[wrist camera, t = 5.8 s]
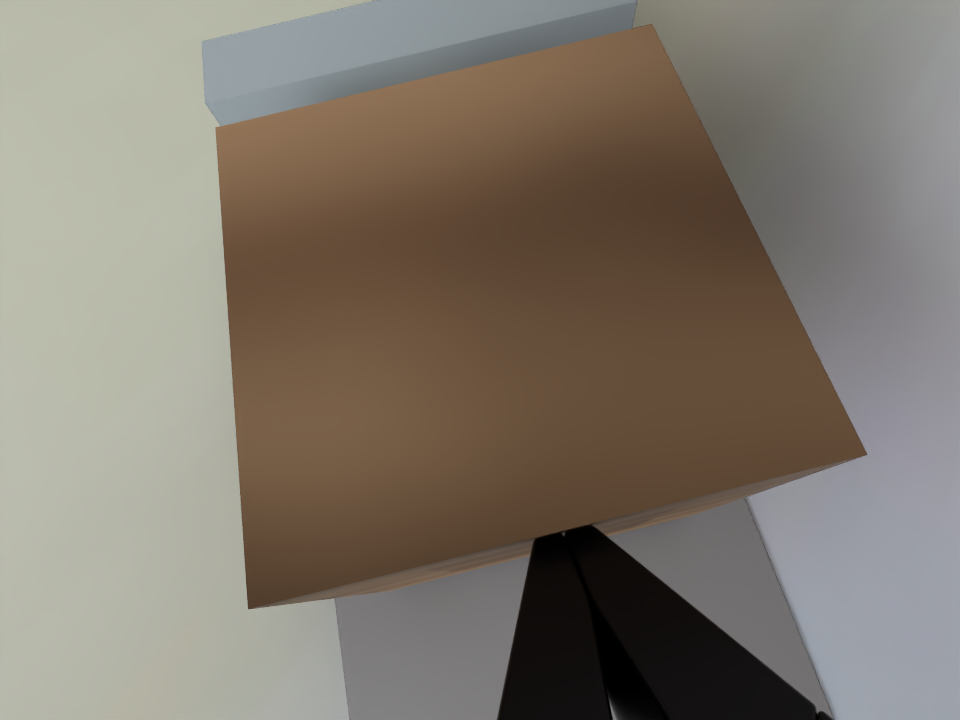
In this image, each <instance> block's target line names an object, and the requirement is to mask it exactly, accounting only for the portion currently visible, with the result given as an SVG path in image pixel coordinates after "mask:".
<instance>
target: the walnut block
mask: <svg viewBox="0 0 960 720" xmlns="http://www.w3.org/2000/svg"><path fill="white" fill-rule="evenodd" d="M216 141H217V156H218V171H219V186H220V200H221V215H222V230H223V245H224V260H225V274H226V289H227V304H228V319H229V334H230V348H231V363H232V378H233V393H234V408H235V422H236V437H237V452H238V467H239V482H240V496H241V511H242V526H243V541H244V555H245V570H246V585H247V600H248V609H254V608H261V607H269V606H277V605H285V604H292V603H300V602H308V601H316V600H323V599H331V598H339V597H347V596H354V595H362V594H370V593H378V592H385V591H391V590H395V589H399V588H403V587H407V586H411V585H415V584H419V583H423V582H427V581H431V580H435V579H439V578H443V577H447V576H451V575H455V574H459V573H463V572H467V571H471V570H475V569H479V568H483V567H487V566H491V565H495V564H499V563H503V562H507V561H511V560H515V559H519V558H523V557H527V556H530V554H531V549H532V544H533V542H534V540H535V539H538V538H542V537H546V536H550V535H554V534H558V533H561V534H563V535H565V532H567V531H570V530H574V529H578V528H582V527H586V526H590V525H592V526H595V527H596V528H597V529H599V530H600V531H601V532H602V533H604V534H605V535H606V536H611V535H615V534H619V533H623V532H627V531H631V530H635V529H639V528H643V527H647V526H651V525H655V524H659V523H663V522H667V521H671V520H675V519H679V518H683V517H687V516H691V515H695V514H698V513H701V512H704V511H706V510H709V509H712V508H715V507H718V506H721V505H724V504H727V503H730V502H732V501H735V500H738V499H741V498H744V497H747V496H750V495H753V494H755V493H758V492H761V491H764V490H767V489H770V488H773V487H776V486H779V485H781V484H784V483H787V482H790V481H793V480H796V479H799V478H802V477H804V476H807V475H810V474H813V473H816V472H819V471H822V470H825V469H828V468H830V467H833V466H836V465H839V464H842V463H845V462H848V461H851V460H853V459H856V458H859V457H862V456H865V455H867V453H866V451H865V449H864V447H863V445H862V443H861V441H860V439H859V437H858V435H857V433H856V431H855V429H854V427H853V425H852V423H851V421H850V419H849V417H848V415H847V413H846V411H845V409H844V407H843V405H842V403H841V401H840V399H839V397H838V395H837V393H836V391H835V389H834V387H833V385H832V383H831V381H830V379H829V377H828V375H827V373H826V371H825V369H824V367H823V365H822V363H821V361H820V359H819V357H818V355H817V353H816V351H815V349H814V347H813V345H812V343H811V341H810V339H809V337H808V335H807V333H806V331H805V329H804V327H803V325H802V323H801V321H800V319H799V317H798V315H797V313H796V311H795V309H794V307H793V305H792V303H791V301H790V299H789V297H788V295H787V293H786V291H785V289H784V287H783V285H782V283H781V281H780V279H779V277H778V275H777V273H776V271H775V269H774V267H773V265H772V263H771V261H770V259H769V257H768V255H767V253H766V251H765V249H764V247H763V245H762V243H761V241H760V239H759V237H758V235H757V233H756V231H755V229H754V227H753V225H752V223H751V221H750V219H749V217H748V215H747V213H746V211H745V209H744V207H743V205H742V203H741V201H740V199H739V197H738V195H737V193H736V191H735V189H734V187H733V185H732V183H731V181H730V179H729V177H728V175H727V173H726V171H725V169H724V167H723V165H722V163H721V161H720V159H719V157H718V155H717V153H716V151H715V149H714V147H713V145H712V143H711V141H710V139H709V137H708V135H707V133H706V131H705V129H704V127H703V125H702V123H701V121H700V119H699V117H698V115H697V113H696V111H695V109H694V107H693V105H692V103H691V101H690V99H689V97H688V95H687V93H686V91H685V89H684V87H683V85H682V83H681V81H680V79H679V77H678V75H677V73H676V71H675V69H674V67H673V65H672V63H671V61H670V59H669V57H668V55H667V53H666V51H665V49H664V47H663V45H662V43H661V41H660V39H659V37H658V35H657V33H656V31H655V29H654V27H653V25H652V24H649V25H645V26H641V27H637V28H632V29H628V30H624V31H620V32H616V33H611V34H607V35H603V36H599V37H595V38H590V39H586V40H582V41H578V42H573V43H569V44H565V45H561V46H557V47H552V48H548V49H544V50H540V51H536V52H531V53H527V54H523V55H519V56H515V57H510V58H506V59H502V60H498V61H493V62H489V63H485V64H481V65H477V66H472V67H468V68H464V69H460V70H456V71H451V72H447V73H443V74H439V75H435V76H430V77H426V78H422V79H418V80H413V81H409V82H405V83H401V84H397V85H392V86H388V87H384V88H380V89H376V90H371V91H367V92H363V93H359V94H355V95H350V96H346V97H342V98H338V99H334V100H329V101H325V102H321V103H317V104H312V105H308V106H304V107H300V108H296V109H291V110H287V111H283V112H279V113H275V114H270V115H266V116H262V117H258V118H254V119H249V120H245V121H241V122H237V123H232V124H228V125H224V126H220V127H216Z"/></svg>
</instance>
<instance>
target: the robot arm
mask: <svg viewBox="0 0 960 720" xmlns="http://www.w3.org/2000/svg"><path fill="white" fill-rule="evenodd" d="M610 704H611V706H612V709H613V711H614V714H615V716H616V719H617V720H834V719H833V718H832V717H830V716H829V715H828V714H827V713H825V712H824V711H819V712H818V713H817V708H816V706H815V704H814V703H813V702H811V701H810V700H809V699H808V698H806V697H805V696H804V695H803V694H801V693H800V692H799V691H798V690H796V689H795V688H794V687H793V686H792V685H790V684H789V683H788V682H787V681H785V680H784V679H783V678H782V677H780V676H779V675H778V674H777V673H775V672H774V671H773V670H772V669H770V668H769V667H768V666H767V665H766V664H764V663H763V662H762V661H761V660H759V659H758V658H757V657H756V656H754V655H753V654H752V653H751V652H749V651H748V650H747V649H746V648H745V647H743V646H742V645H741V644H740V643H738V642H737V641H736V640H735V639H733V638H732V637H731V636H730V635H728V634H727V633H726V632H725V631H723V630H722V629H721V628H720V627H719V626H717V625H716V624H715V623H714V622H712V621H711V620H710V619H709V618H707V617H706V616H705V615H704V614H702V613H701V612H700V611H699V610H698V609H696V608H695V607H694V606H693V605H691V604H690V603H689V602H688V601H686V600H685V599H684V598H683V597H681V596H680V595H679V594H678V593H677V592H675V591H674V590H673V589H672V588H670V587H669V586H668V585H667V584H665V583H664V582H663V581H662V580H660V579H659V578H658V577H657V576H655V575H654V574H653V573H652V572H651V571H649V570H648V569H647V568H646V567H644V566H643V565H642V564H641V563H639V562H638V561H637V560H636V559H634V558H633V557H632V556H631V555H630V554H628V553H627V552H626V551H625V550H623V549H622V548H621V547H620V546H618V545H617V544H616V543H615V542H613V541H612V540H611V539H610V538H609V537H607V536H606V535H605V534H604V533H602V532H601V531H600V530H599V529H597V528H596V527H595V526H592V525H590V526H586V527H582V528H578V529H574V530H570V531H567V532H565V535H563V534H561V533H558V534H554V535H550V536H546V537H542V538H538V539H535V540H534V542H533V544H532V549H531V554H530V559H529V564H528V569H527V574H526V578H525V583H524V588H523V593H522V598H521V603H520V608H519V613H518V618H517V622H516V627H515V632H514V637H513V642H512V647H511V652H510V657H509V662H508V667H507V671H506V676H505V681H504V686H503V691H502V696H501V701H500V706H499V711H498V715H497V720H613V717H612V712H611V707H610Z"/></svg>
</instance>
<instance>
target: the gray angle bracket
mask: <svg viewBox="0 0 960 720" xmlns="http://www.w3.org/2000/svg"><path fill="white" fill-rule="evenodd" d="M636 5H637V0H376V1H372V2H367V3H363V4H359V5H355V6H350V7H346V8H342V9H338V10H333V11H329V12H325V13H321V14H316V15H312V16H308V17H304V18H299V19H295V20H291V21H287V22H282V23H278V24H274V25H270V26H265V27H261V28H257V29H253V30H248V31H244V32H240V33H236V34H231V35H227V36H223V37H219V38H214V39H210V40H206V41H202V58H203V75H204V91H205V104H206V105H207V107H208V108H209V110H210V111H211V113H212V114H213V115H214V117H215V118H216V120H217V121H218V123H219V124H220V126H224V125H228V124H232V123H237V122H241V121H245V120H249V119H254V118H258V117H262V116H266V115H270V114H275V113H279V112H283V111H287V110H291V109H296V108H300V107H304V106H308V105H312V104H317V103H321V102H325V101H329V100H334V99H338V98H342V97H346V96H350V95H355V94H359V93H363V92H367V91H371V90H376V89H380V88H384V87H388V86H392V85H397V84H401V83H405V82H409V81H413V80H418V79H422V78H426V77H430V76H435V75H439V74H443V73H447V72H451V71H456V70H460V69H464V68H468V67H472V66H477V65H481V64H485V63H489V62H493V61H498V60H502V59H506V58H510V57H515V56H519V55H523V54H527V53H531V52H536V51H540V50H544V49H548V48H552V47H557V46H561V45H565V44H569V43H573V42H578V41H582V40H586V39H590V38H595V37H599V36H603V35H607V34H611V33H616V32H620V31H624V30H628V29H632V26H633V20H634V15H635V10H636ZM607 537H609V538H610V539H611V540H612V541H613V542H615V543H616V544H617V545H618V546H620V547H621V548H622V549H623V550H625V551H626V552H627V553H628V554H630V555H631V556H632V557H633V558H634V559H636V560H637V561H638V562H639V563H641V564H642V565H643V566H644V567H646V568H647V569H648V570H649V571H651V572H652V573H653V574H654V575H655V576H657V577H658V578H659V579H660V580H662V581H663V582H664V583H665V584H667V585H668V586H669V587H670V588H672V589H673V590H674V591H675V592H677V593H678V594H679V595H680V596H681V597H683V598H684V599H685V600H686V601H688V602H689V603H690V604H691V605H693V606H694V607H695V608H696V609H698V610H699V611H700V612H701V613H702V614H704V615H705V616H706V617H707V618H709V619H710V620H711V621H712V622H714V623H715V624H716V625H717V626H719V627H720V628H721V629H722V630H723V631H725V632H726V633H727V634H728V635H730V636H731V637H732V638H733V639H735V640H736V641H737V642H738V643H740V644H741V645H742V646H743V647H745V648H746V649H747V650H748V651H749V652H751V653H752V654H753V655H754V656H756V657H757V658H758V659H759V660H761V661H762V662H763V663H764V664H766V665H767V666H768V667H769V668H770V669H772V670H773V671H774V672H775V673H777V674H778V675H779V676H780V677H782V678H783V679H784V680H785V681H787V682H788V683H789V684H790V685H792V686H793V687H794V688H795V689H796V690H798V691H799V692H800V693H801V694H803V695H804V696H805V697H806V698H808V699H809V700H810V701H811V702H813V703H814V704H815V706H816V708H817V713H818V712H819V711H824V712H825V713H827V714H828V715H829V716H830V717H832V718H833V716H832V714H831V711H830V709H829V706H828V704H827V701H826V699H825V696H824V694H823V691H822V689H821V687H820V684H819V682H818V679H817V677H816V674H815V672H814V669H813V667H812V664H811V662H810V659H809V657H808V654H807V652H806V649H805V647H804V644H803V642H802V639H801V637H800V635H799V632H798V630H797V627H796V625H795V622H794V620H793V617H792V615H791V612H790V610H789V607H788V605H787V602H786V600H785V597H784V595H783V592H782V590H781V587H780V585H779V583H778V580H777V578H776V575H775V573H774V570H773V568H772V565H771V563H770V560H769V558H768V555H767V553H766V550H765V548H764V545H763V543H762V540H761V538H760V535H759V533H758V530H757V528H756V526H755V523H754V521H753V518H752V516H751V513H750V511H749V508H748V506H747V503H746V501H745V498H741V499H738V500H735V501H732V502H730V503H727V504H724V505H721V506H718V507H715V508H712V509H709V510H706V511H704V512H701V513H698V514H695V515H691V516H687V517H683V518H679V519H675V520H671V521H667V522H663V523H659V524H655V525H651V526H647V527H643V528H639V529H635V530H631V531H627V532H623V533H619V534H615V535H611V536H607ZM529 559H530V556H527V557H523V558H519V559H515V560H511V561H507V562H503V563H499V564H495V565H491V566H487V567H483V568H479V569H475V570H471V571H467V572H463V573H459V574H455V575H451V576H447V577H443V578H439V579H435V580H431V581H427V582H423V583H419V584H415V585H411V586H407V587H403V588H399V589H395V590H391V591H385V592H378V593H370V594H362V595H354V596H347V597H339V598H335V605H336V613H337V621H338V630H339V638H340V646H341V654H342V662H343V671H344V679H345V687H346V695H347V703H348V712H349V720H497V715H498V711H499V706H500V701H501V696H502V691H503V686H504V681H505V676H506V671H507V667H508V662H509V657H510V652H511V647H512V642H513V637H514V632H515V627H516V622H517V618H518V613H519V608H520V603H521V598H522V593H523V588H524V583H525V578H526V574H527V569H528V564H529ZM610 707H611V712H612V717H613V720H617V719H616V716H615V714H614V711H613V709H612V706H611V704H610Z"/></svg>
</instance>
